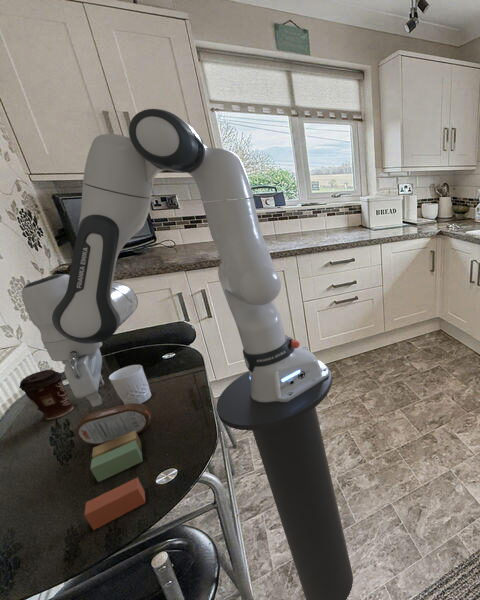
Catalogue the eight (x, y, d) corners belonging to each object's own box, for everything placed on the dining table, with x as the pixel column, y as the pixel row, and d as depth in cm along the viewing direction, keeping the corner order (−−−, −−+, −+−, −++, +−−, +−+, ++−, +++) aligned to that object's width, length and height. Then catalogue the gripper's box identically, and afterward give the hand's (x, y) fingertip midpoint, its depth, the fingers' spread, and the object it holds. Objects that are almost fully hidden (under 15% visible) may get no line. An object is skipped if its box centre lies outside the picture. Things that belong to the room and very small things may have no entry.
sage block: (142, 452, 78) (135, 440, 77) (142, 461, 76) (136, 448, 74) (98, 472, 74) (91, 459, 72) (98, 482, 71) (90, 468, 70)
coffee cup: (31, 426, 92) (7, 388, 87) (48, 409, 99) (27, 372, 94) (69, 416, 94) (48, 378, 90) (83, 400, 102) (64, 364, 97)
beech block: (141, 442, 82) (135, 430, 80) (141, 450, 79) (135, 437, 78) (100, 460, 77) (92, 447, 76) (99, 469, 74) (91, 456, 73)
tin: (157, 423, 88) (145, 397, 85) (153, 430, 85) (141, 404, 82) (88, 442, 83) (73, 416, 80) (82, 451, 80) (67, 424, 78)
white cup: (115, 406, 97) (102, 378, 94) (142, 390, 104) (130, 363, 100) (133, 410, 95) (120, 381, 91) (159, 393, 101) (148, 365, 98)
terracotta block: (144, 491, 68) (137, 477, 66) (145, 502, 65) (138, 488, 64) (94, 517, 63) (85, 502, 62) (93, 530, 61) (84, 515, 59)
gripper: (89, 355, 69) (114, 409, 74) (95, 328, 84) (116, 373, 89) (48, 367, 65) (77, 423, 70) (62, 336, 80) (85, 383, 85)
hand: (99, 395), depth 80 cm, fingers open, 8 cm apart
